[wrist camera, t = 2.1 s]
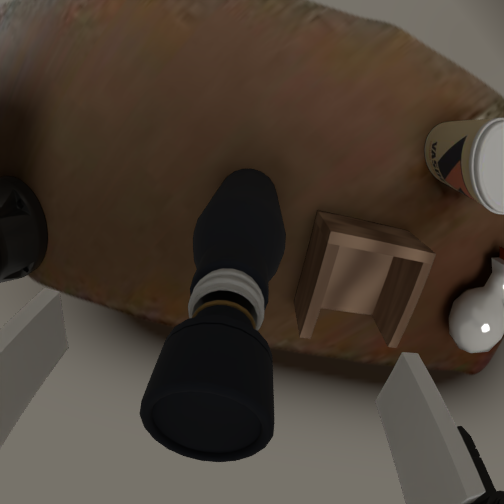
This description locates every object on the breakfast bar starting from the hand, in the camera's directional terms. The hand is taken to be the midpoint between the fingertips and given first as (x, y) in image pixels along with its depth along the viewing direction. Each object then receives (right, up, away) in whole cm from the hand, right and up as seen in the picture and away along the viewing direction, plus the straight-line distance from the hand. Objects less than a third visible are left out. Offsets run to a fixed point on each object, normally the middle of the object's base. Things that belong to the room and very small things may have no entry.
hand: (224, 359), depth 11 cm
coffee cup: (+25, +16, +22) cm, 37 cm away
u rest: (+13, +2, +28) cm, 31 cm away
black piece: (0, +10, +25) cm, 27 cm away
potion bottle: (+34, -2, +29) cm, 44 cm away
